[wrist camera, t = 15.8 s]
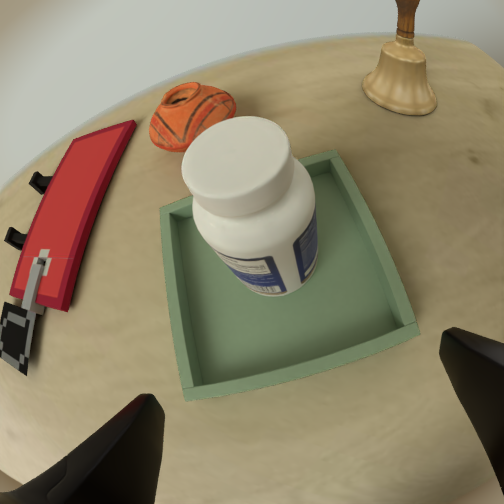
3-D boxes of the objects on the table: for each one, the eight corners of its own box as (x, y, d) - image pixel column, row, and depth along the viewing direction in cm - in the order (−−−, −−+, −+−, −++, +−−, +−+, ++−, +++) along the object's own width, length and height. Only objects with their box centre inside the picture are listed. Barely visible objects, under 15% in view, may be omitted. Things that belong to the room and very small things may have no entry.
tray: (410, 338, 14) (421, 334, 13) (198, 399, 16) (184, 401, 14) (335, 166, 20) (335, 148, 19) (171, 220, 22) (159, 207, 20)
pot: (152, 182, 24) (119, 120, 19) (183, 136, 28) (160, 83, 23) (235, 172, 22) (209, 95, 16) (253, 126, 26) (236, 65, 21)
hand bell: (362, 68, 25) (353, -55, 11) (429, 81, 23) (440, -38, 8) (361, 107, 23) (353, -52, 8) (442, 124, 20) (468, -25, 6)
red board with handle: (-5, 351, 21) (59, 392, 18) (-21, 346, 19) (36, 390, 15) (63, 150, 33) (138, 127, 30) (53, 139, 31) (127, 111, 27)
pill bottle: (289, 207, 19) (261, 89, 11) (334, 268, 17) (344, 160, 8) (222, 247, 19) (149, 150, 11) (258, 314, 17) (190, 248, 8)
